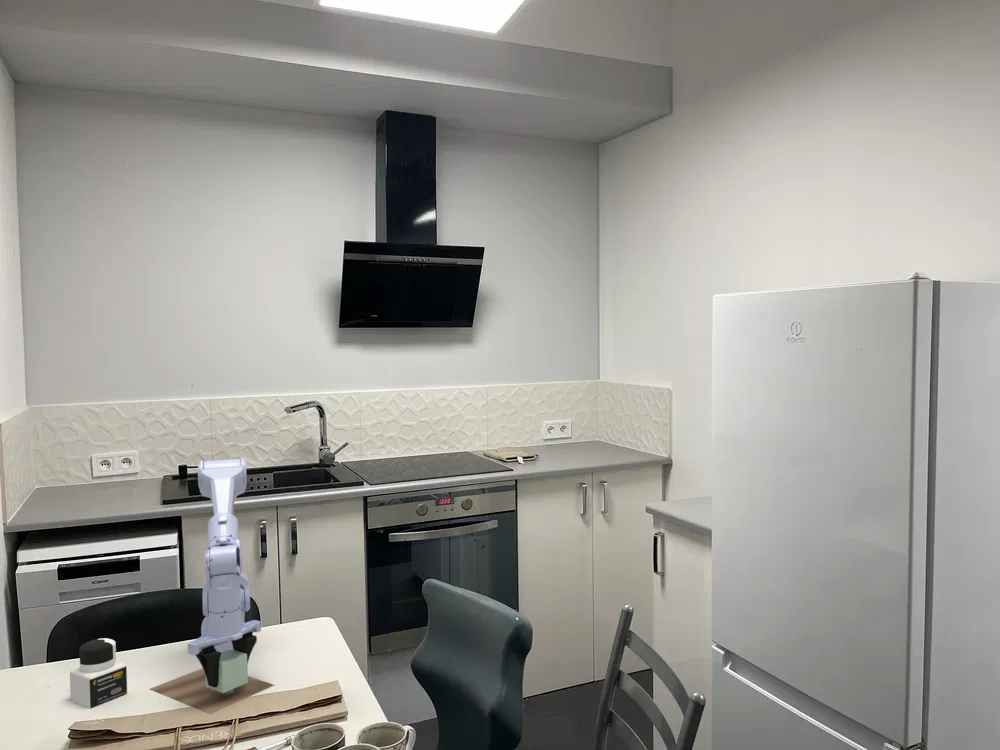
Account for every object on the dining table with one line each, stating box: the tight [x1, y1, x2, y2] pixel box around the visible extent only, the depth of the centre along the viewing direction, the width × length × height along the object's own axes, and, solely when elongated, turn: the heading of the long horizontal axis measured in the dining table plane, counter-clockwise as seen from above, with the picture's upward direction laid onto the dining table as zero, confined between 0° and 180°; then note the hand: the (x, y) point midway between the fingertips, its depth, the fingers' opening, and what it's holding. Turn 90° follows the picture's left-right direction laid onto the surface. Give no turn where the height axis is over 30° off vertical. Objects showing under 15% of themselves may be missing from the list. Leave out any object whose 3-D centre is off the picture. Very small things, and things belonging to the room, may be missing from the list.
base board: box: [149, 667, 275, 715], centre depth 142 cm, size 20×14×4 cm
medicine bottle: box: [69, 637, 128, 709], centre depth 139 cm, size 7×7×12 cm
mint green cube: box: [206, 649, 249, 693], centre depth 139 cm, size 5×5×6 cm
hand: (227, 680), depth 139 cm, fingers closed on mint green cube, 5 cm apart
